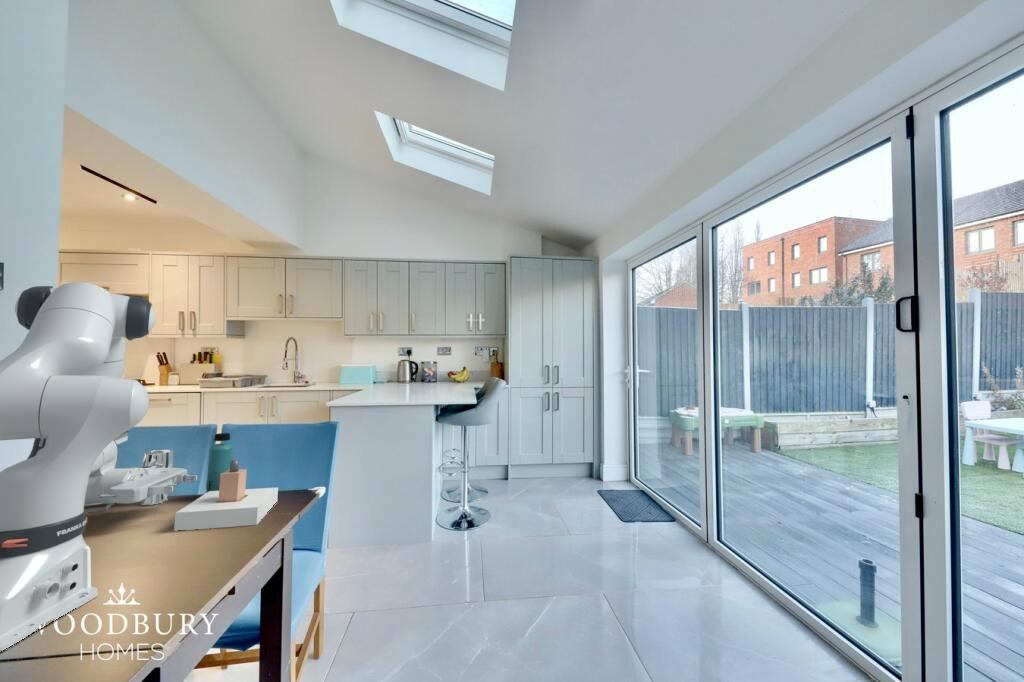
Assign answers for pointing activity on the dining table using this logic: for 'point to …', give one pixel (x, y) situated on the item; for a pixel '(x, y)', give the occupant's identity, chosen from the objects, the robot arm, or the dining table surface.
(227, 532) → the dining table surface
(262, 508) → the socket
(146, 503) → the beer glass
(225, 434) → the beverage bottle
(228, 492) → the plug
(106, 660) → the dining table surface
